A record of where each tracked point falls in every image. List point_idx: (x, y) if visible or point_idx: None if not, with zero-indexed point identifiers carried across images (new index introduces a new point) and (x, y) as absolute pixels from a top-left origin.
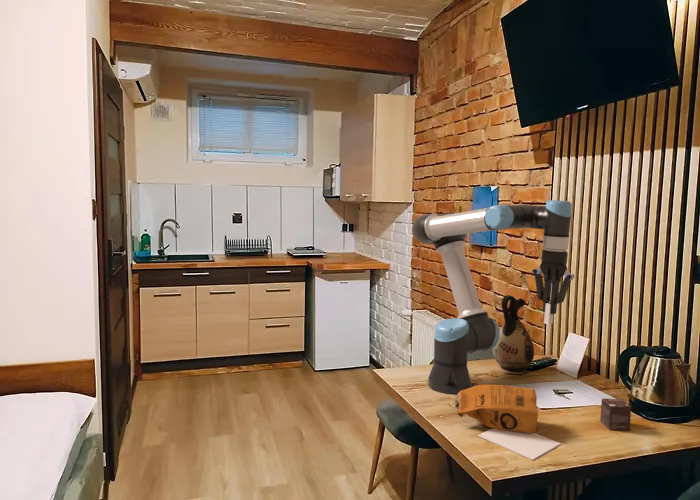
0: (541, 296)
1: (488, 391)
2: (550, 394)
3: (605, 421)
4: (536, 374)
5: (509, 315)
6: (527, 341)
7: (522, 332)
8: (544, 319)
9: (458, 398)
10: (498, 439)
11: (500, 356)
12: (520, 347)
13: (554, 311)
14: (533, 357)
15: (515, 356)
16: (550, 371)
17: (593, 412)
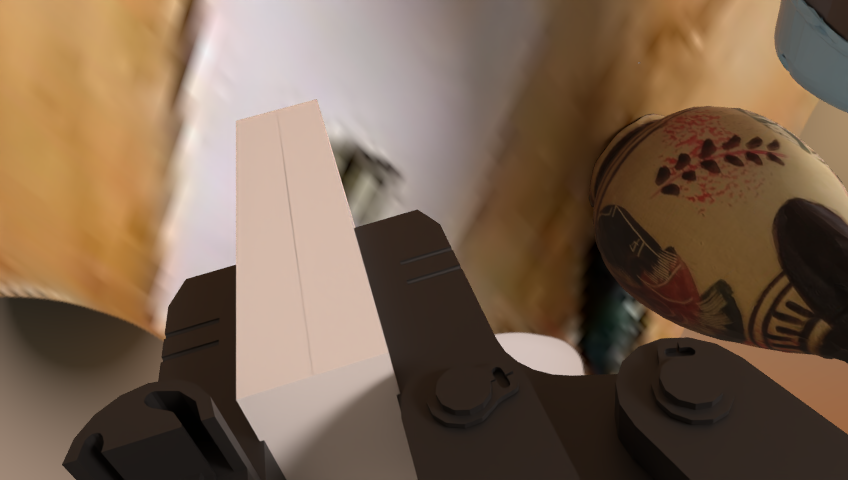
0: (668, 477)
1: None
2: (355, 113)
3: None
4: (553, 230)
5: None
6: (672, 279)
7: (734, 294)
8: (324, 130)
9: None
10: None
11: (717, 114)
12: (669, 216)
13: (171, 339)
14: (605, 264)
15: (652, 164)
16: (540, 302)
17: (83, 134)
